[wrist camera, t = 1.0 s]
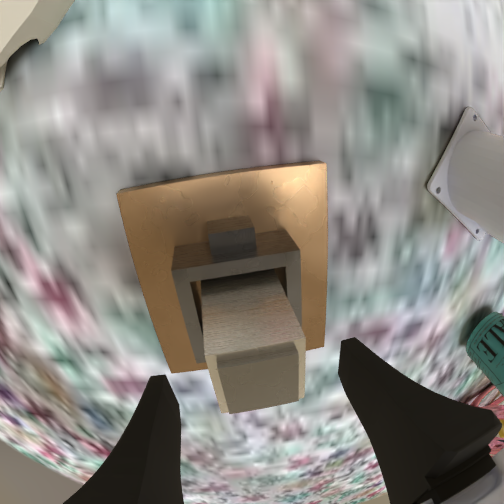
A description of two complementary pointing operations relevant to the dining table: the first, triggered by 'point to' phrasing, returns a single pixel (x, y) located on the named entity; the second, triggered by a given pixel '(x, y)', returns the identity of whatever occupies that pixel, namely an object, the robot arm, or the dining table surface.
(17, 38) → the ashtray
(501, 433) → the plant pot
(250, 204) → the stand base
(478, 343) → the beverage bottle
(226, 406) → the grayish brown rectangular block
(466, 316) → the dining table surface
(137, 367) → the dining table surface
